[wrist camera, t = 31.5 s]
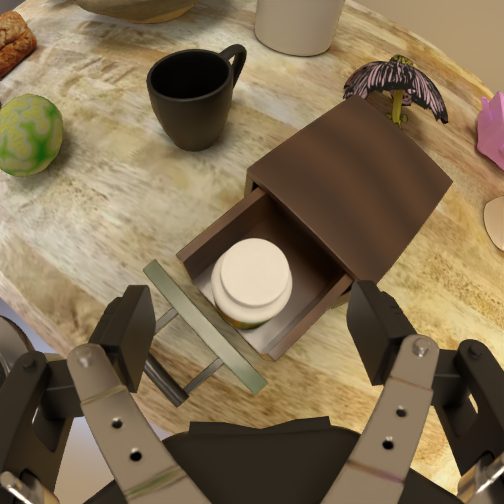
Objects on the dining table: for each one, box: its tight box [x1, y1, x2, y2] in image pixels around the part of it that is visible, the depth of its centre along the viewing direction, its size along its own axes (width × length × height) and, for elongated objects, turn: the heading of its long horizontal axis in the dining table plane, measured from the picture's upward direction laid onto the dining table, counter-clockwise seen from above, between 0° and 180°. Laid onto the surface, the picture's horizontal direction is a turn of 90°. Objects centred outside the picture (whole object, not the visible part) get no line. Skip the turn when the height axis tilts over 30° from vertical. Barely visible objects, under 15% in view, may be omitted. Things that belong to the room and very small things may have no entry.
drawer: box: [143, 186, 354, 408], centre depth 25 cm, size 19×11×7 cm, turn 134°
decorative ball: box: [0, 94, 63, 177], centre depth 28 cm, size 10×10×10 cm
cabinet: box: [244, 93, 453, 309], centre depth 28 cm, size 15×13×9 cm
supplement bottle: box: [211, 238, 292, 329], centre depth 23 cm, size 5×5×10 cm
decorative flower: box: [343, 55, 448, 130], centre depth 34 cm, size 14×12×15 cm
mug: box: [146, 44, 247, 152], centre depth 31 cm, size 8×12×10 cm
